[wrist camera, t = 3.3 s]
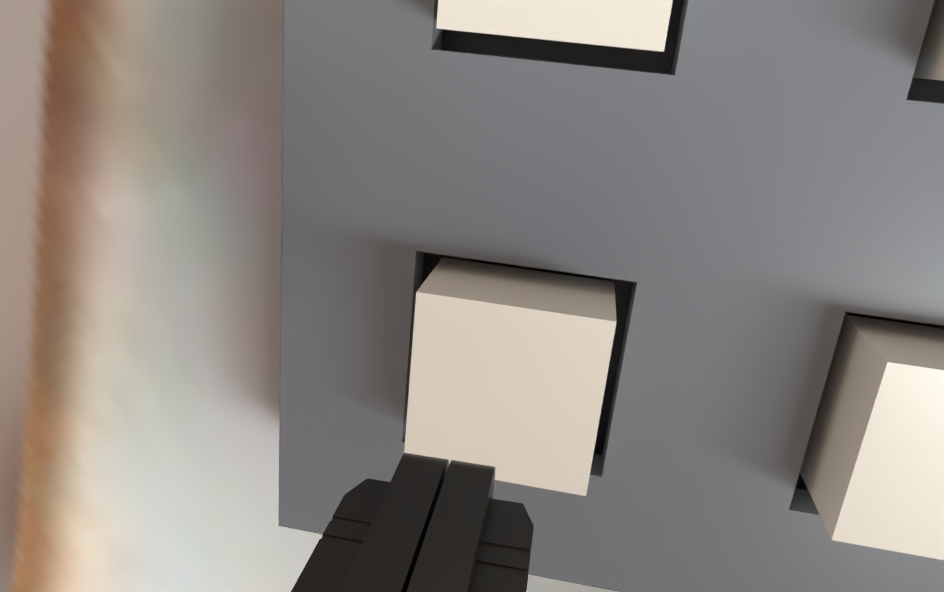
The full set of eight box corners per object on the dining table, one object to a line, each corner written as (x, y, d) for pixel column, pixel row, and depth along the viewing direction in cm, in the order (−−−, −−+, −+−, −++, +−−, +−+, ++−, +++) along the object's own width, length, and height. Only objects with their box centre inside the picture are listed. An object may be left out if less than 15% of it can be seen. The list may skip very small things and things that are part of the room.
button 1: (1041, 342, 16) (1123, 397, 13) (979, 501, 17) (1043, 578, 14) (844, 314, 16) (887, 361, 14) (799, 471, 17) (831, 539, 15)
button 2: (614, 281, 17) (616, 321, 14) (588, 435, 18) (586, 496, 16) (442, 257, 17) (416, 292, 15) (429, 408, 18) (403, 463, 16)
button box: (1423, -315, 13) (1693, -435, 10) (1032, 583, 20) (1117, 688, 17) (354, -354, 16) (288, -461, 12) (325, 455, 22) (278, 525, 19)
